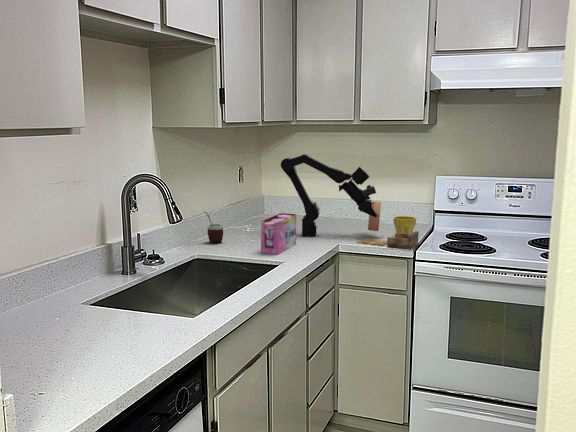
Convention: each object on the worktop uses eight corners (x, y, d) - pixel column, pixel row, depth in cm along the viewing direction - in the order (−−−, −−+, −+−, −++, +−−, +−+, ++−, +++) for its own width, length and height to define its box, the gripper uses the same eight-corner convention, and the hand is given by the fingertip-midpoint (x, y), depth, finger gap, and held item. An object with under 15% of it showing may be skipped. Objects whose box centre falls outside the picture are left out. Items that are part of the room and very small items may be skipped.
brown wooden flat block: (380, 254, 248) (356, 244, 253) (388, 249, 256) (365, 240, 262) (383, 245, 247) (359, 235, 252) (391, 241, 255) (367, 231, 260)
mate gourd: (225, 241, 253) (225, 208, 251) (219, 245, 246) (218, 211, 243) (210, 240, 255) (210, 208, 253) (203, 244, 248) (202, 210, 245)
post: (370, 230, 262) (373, 203, 260) (365, 228, 266) (368, 201, 264) (380, 230, 263) (383, 203, 261) (375, 228, 268) (377, 201, 266)
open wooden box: (386, 247, 245) (387, 233, 244) (395, 242, 255) (395, 229, 254) (410, 249, 240) (411, 236, 239) (417, 244, 251) (418, 231, 250)
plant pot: (394, 235, 272) (395, 215, 270) (416, 236, 269) (417, 216, 267) (391, 239, 262) (392, 218, 260) (414, 240, 259) (415, 220, 257)
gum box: (277, 255, 228) (277, 222, 226) (259, 254, 231) (259, 221, 229) (296, 244, 250) (296, 213, 248) (279, 242, 253) (280, 212, 251)
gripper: (366, 182, 252) (390, 207, 253) (366, 178, 271) (388, 201, 271) (348, 198, 255) (371, 223, 255) (349, 193, 273) (371, 217, 273)
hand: (376, 215), depth 264 cm, fingers closed on post, 5 cm apart
